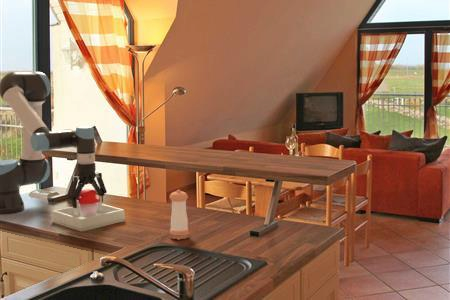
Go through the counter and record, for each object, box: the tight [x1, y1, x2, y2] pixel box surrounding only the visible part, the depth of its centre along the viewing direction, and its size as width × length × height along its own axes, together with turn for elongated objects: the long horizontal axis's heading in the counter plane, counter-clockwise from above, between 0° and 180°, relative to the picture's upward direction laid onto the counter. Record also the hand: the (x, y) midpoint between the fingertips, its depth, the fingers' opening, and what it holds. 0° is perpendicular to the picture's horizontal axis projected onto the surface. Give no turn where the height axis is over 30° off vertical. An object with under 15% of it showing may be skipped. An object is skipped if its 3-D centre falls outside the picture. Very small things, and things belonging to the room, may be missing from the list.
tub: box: [51, 203, 126, 232], centre depth 252 cm, size 22×22×5 cm
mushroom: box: [77, 188, 101, 218], centre depth 251 cm, size 11×11×12 cm
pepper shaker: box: [169, 189, 190, 235], centre depth 226 cm, size 7×7×19 cm
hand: (88, 212), depth 252 cm, fingers closed on mushroom, 11 cm apart
